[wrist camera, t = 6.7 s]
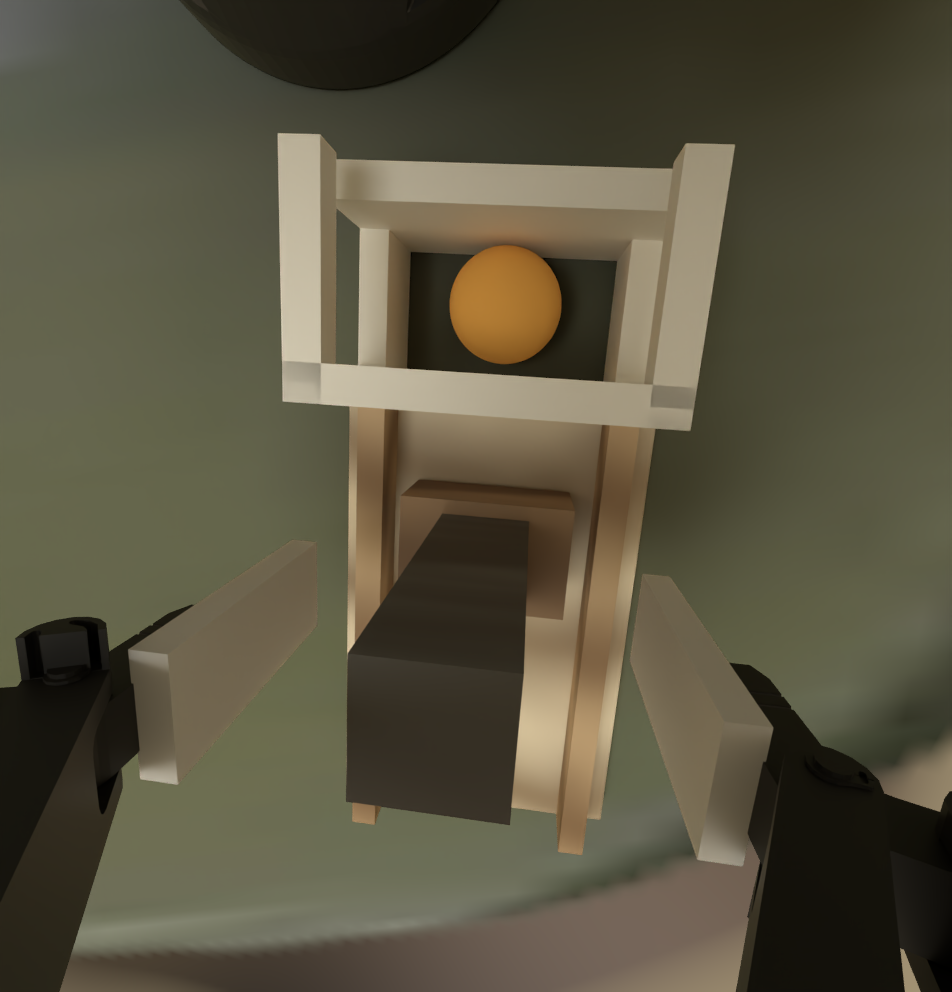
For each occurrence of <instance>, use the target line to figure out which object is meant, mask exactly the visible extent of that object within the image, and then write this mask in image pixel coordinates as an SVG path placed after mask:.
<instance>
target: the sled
mask: <svg viewBox="0 0 952 992" xmlns="http://www.w3.org/2000/svg"><path fill="white" fill-rule="evenodd" d="M574 516H575V509H574V506H573V503H572V500H571V496H570V493H569V492H561V491H549V490H538V489H526V488H514V487H502V486H490V485H479V484H467V483H455V482H443V481H432V480H420V479H419V480H418V481H417V482H415V483H414V484H413V485H412V486H411V487H410V488H409V489H407V490H406V491H405V492H404V493H403V494H402V495H401V496H400V524H399V555H398V580H397V581H396V583H395V584H394V586H393V587H392V589H391V590H390V592H389V593H388V595H387V596H386V597H385V599H384V600H383V602H382V603H381V605H380V606H379V608H378V609H377V611H376V612H375V614H374V615H373V617H372V618H371V620H370V621H369V623H368V624H367V626H366V627H365V629H364V630H363V631H362V633H361V634H360V636H359V637H358V639H357V640H356V642H355V643H354V645H353V646H352V648H351V649H350V651H349V652H348V659H347V768H346V802H352V803H359V804H366V805H373V806H380V807H387V808H394V809H401V810H408V811H415V812H422V813H429V814H436V815H443V816H450V817H457V818H464V819H471V820H478V821H485V822H492V823H499V824H506V825H510V816H511V806H512V795H513V784H514V774H515V763H516V753H517V742H518V732H519V721H520V710H521V700H522V689H523V679H524V657H525V628H526V616H528V617H538V618H547V619H556V620H563V615H564V606H565V597H566V588H567V579H568V570H569V561H570V552H571V543H572V534H573V525H574Z"/></svg>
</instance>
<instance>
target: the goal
mask: <svg viewBox="0 0 952 992" xmlns="http://www.w3.org/2000/svg"><path fill="white" fill-rule="evenodd" d="M734 148H735V144H695V143H686V144H685V146H684V147H683V149H682V150H681V152H680V153H679V155H678V156H677V158H676V160H675V161H674V164H673V169H659V168H624V167H590V166H555V165H520V164H486V163H451V162H417V161H382V160H347V159H336V152H335V151H334V149H333V148H332V147H331V146H330V145H329V144H328V143H327V142H326V140H325V139H324V138H323V137H322V136H321V135H320V134H287V133H278V179H279V230H280V282H281V333H282V384H283V401H284V402H298V403H312V404H325V405H339V406H353V407H366V408H380V409H394V410H408V411H421V412H435V413H449V414H462V415H476V416H490V417H504V418H517V419H531V420H545V421H559V422H572V423H586V424H600V425H613V426H627V427H641V428H655V429H668V430H682V431H690V430H691V423H692V417H693V410H694V404H695V398H696V391H697V385H698V378H699V372H700V366H701V359H702V353H703V347H704V340H705V334H706V327H707V321H708V315H709V308H710V302H711V295H712V289H713V283H714V276H715V270H716V263H717V257H718V251H719V244H720V238H721V232H722V225H723V219H724V212H725V206H726V200H727V193H728V187H729V180H730V174H731V168H732V161H733V155H734ZM336 208H337V209H338V210H339V211H340V212H341V213H343V214H344V215H345V216H346V217H347V218H348V219H350V220H351V221H352V222H353V223H354V224H355V225H357V226H358V227H359V228H360V261H359V341H358V366H357V365H341V364H336ZM500 245H513V246H519V247H523V248H526V249H528V250H530V251H532V252H534V253H535V254H537V255H538V256H539V257H541V258H557V259H579V260H602V261H617V267H616V276H615V284H614V293H613V301H612V310H611V319H610V327H609V336H608V344H607V353H606V362H605V370H604V379H603V382H601V381H586V380H570V379H555V378H540V377H525V376H509V375H494V374H479V373H463V372H448V371H433V370H418V369H407V351H408V321H409V291H410V261H411V252H423V253H446V254H468V255H476V254H478V253H480V252H481V251H483V250H485V249H488V248H491V247H494V246H500Z"/></svg>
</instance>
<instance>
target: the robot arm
mask: <svg viewBox="0 0 952 992" xmlns="http://www.w3.org/2000/svg"><path fill="white" fill-rule="evenodd" d="M497 1H498V0H180V2H181V3H182V4H183V5H184V6H185V7H186V8H187V9H188V10H189V11H190V12H191V13H192V14H193V15H194V17H195V18H196V19H197V20H198V21H199V22H200V23H201V24H202V25H203V26H204V27H205V28H206V29H207V30H208V31H209V32H210V33H211V34H212V35H213V36H214V37H215V38H216V39H217V40H218V41H219V42H220V43H222V44H223V45H224V46H225V47H226V48H227V49H229V50H230V51H231V52H233V53H234V54H235V55H237V56H238V57H240V58H241V59H243V60H244V61H246V62H247V63H249V64H250V65H252V66H254V67H256V68H258V69H260V70H261V71H263V72H265V73H268V74H270V75H272V76H275V77H277V78H280V79H283V80H286V81H289V82H292V83H295V84H300V85H304V86H309V87H315V88H324V89H353V88H362V87H368V86H373V85H378V84H382V83H385V82H388V81H392V80H395V79H397V78H400V77H403V76H405V75H408V74H410V73H412V72H414V71H416V70H418V69H420V68H422V67H424V66H426V65H427V64H429V63H431V62H432V61H434V60H436V59H437V58H439V57H440V56H442V55H443V54H444V53H446V52H447V51H449V50H450V49H451V48H452V47H454V46H455V45H456V44H457V43H459V42H460V41H461V40H462V39H463V38H464V37H465V36H466V35H468V34H469V33H470V32H471V31H472V30H473V29H474V28H475V27H476V26H477V25H478V24H479V22H480V21H481V20H482V19H483V18H484V17H485V16H486V15H487V14H488V12H489V11H490V10H491V9H492V7H493V6H494V5H495V4H496V2H497ZM316 626H317V542H312V541H302V540H291V541H290V542H288V543H287V544H285V545H284V546H282V547H281V548H279V549H278V550H276V551H275V552H273V553H272V554H270V555H269V556H267V557H266V558H264V559H263V560H261V561H260V562H258V563H257V564H255V565H254V566H252V567H251V568H249V569H248V570H246V571H245V572H243V573H242V574H240V575H239V576H237V577H236V578H234V579H233V580H231V581H230V582H228V583H227V584H225V585H224V586H222V587H221V588H219V589H218V590H216V591H215V592H213V593H212V594H210V595H209V596H207V597H206V598H204V599H203V600H201V601H200V602H198V603H197V604H195V605H189V606H187V607H184V608H181V609H179V610H176V611H173V612H171V613H169V614H167V615H165V616H164V617H162V618H161V619H159V620H158V621H156V622H155V623H153V626H148V627H147V628H145V629H144V630H142V631H141V632H140V634H139V635H138V634H136V635H134V636H133V637H131V638H130V639H128V640H127V641H125V642H124V643H122V644H120V645H119V646H117V647H116V648H114V649H113V650H111V651H110V652H109V646H108V637H107V627H106V623H105V622H104V621H102V620H101V619H98V618H92V617H72V618H66V619H59V620H54V621H51V622H47V623H44V624H40V625H38V626H35V627H33V628H31V629H29V630H26V631H24V632H23V633H22V634H20V635H19V636H18V637H17V638H15V639H16V646H17V653H18V659H19V666H20V673H21V679H22V681H21V682H20V684H19V685H18V686H17V687H6V688H0V992H59V991H60V988H61V985H62V981H63V978H64V975H65V972H66V969H67V965H68V962H69V959H70V956H71V953H72V949H73V946H74V943H75V940H76V937H77V933H78V930H79V927H80V924H81V920H82V917H83V914H84V911H85V908H86V904H87V901H88V898H89V895H90V891H91V888H92V885H93V882H94V879H95V875H96V872H97V869H98V866H99V862H100V859H101V856H102V853H103V850H104V846H105V843H106V840H107V837H108V833H109V830H110V827H111V824H112V821H113V817H114V814H115V811H116V808H117V804H118V801H119V798H120V795H121V792H122V788H123V782H122V770H121V768H122V767H123V766H124V765H125V764H126V763H127V762H128V761H129V760H130V759H132V758H133V757H134V756H135V755H136V754H137V753H138V759H139V770H140V779H143V780H150V781H157V782H163V783H170V784H177V785H178V784H179V783H180V781H181V780H182V779H183V778H184V777H185V776H186V775H187V773H188V772H189V771H190V770H191V769H192V768H193V767H194V765H195V764H196V763H197V762H198V761H199V760H200V759H201V758H202V756H203V755H204V754H205V753H206V752H207V751H208V750H209V748H210V747H211V746H212V745H213V744H214V743H215V742H216V740H217V739H218V738H219V737H220V736H221V735H222V734H223V732H224V731H225V730H226V729H227V728H228V727H229V726H230V724H231V723H232V722H233V721H234V720H235V719H236V718H237V716H238V715H239V714H240V713H241V712H242V711H243V710H244V708H245V707H246V706H247V705H248V704H249V703H250V702H251V700H252V699H253V698H254V697H255V696H256V695H257V694H258V692H259V691H260V690H261V689H262V688H263V687H264V686H265V684H266V683H267V682H268V681H269V680H270V679H271V678H272V676H273V675H274V674H275V673H276V672H277V671H278V670H279V668H280V667H281V666H282V665H283V664H284V663H285V662H286V660H287V659H288V658H289V657H290V656H291V655H292V654H293V652H294V651H295V650H296V649H297V648H298V647H299V646H300V645H301V643H302V642H303V641H304V640H305V639H306V638H307V637H308V635H309V634H310V633H311V632H312V631H313V630H314V629H315V627H316ZM630 663H631V666H632V669H633V672H634V675H635V678H636V681H637V683H638V686H639V689H640V692H641V695H642V698H643V701H644V704H645V707H646V710H647V713H648V716H649V719H650V722H651V725H652V728H653V731H654V734H655V737H656V739H657V742H658V745H659V748H660V751H661V754H662V757H663V760H664V763H665V766H666V769H667V772H668V775H669V778H670V781H671V784H672V787H673V790H674V793H675V795H676V798H677V801H678V804H679V807H680V810H681V813H682V816H683V819H684V822H685V825H686V828H687V831H688V834H689V837H690V840H691V843H692V846H693V849H694V851H695V854H696V857H697V860H702V861H709V862H716V863H723V864H730V865H737V866H743V863H744V859H745V854H746V850H747V845H748V841H749V838H750V840H751V842H752V844H753V847H754V849H755V851H756V853H757V855H758V857H759V859H760V864H759V869H758V873H757V877H756V882H755V886H754V890H753V895H752V899H751V904H750V908H749V912H748V916H747V917H748V918H749V921H748V927H747V933H746V938H745V943H744V949H743V955H742V960H741V966H740V971H739V977H738V983H737V988H736V992H905V990H904V980H903V971H902V962H901V952H900V948H901V949H904V951H905V953H906V956H907V958H908V961H909V963H910V966H911V968H912V971H913V973H914V976H915V978H916V981H917V983H918V986H919V988H920V991H921V992H952V791H950V792H949V793H948V795H947V796H946V797H945V799H944V802H943V805H942V808H941V812H938V811H935V810H932V809H929V808H926V807H922V806H919V805H916V804H913V803H910V802H907V801H904V800H901V799H898V798H895V797H892V796H889V795H887V794H884V791H883V789H882V787H881V785H880V782H879V780H878V779H877V778H876V777H875V776H874V775H873V774H872V773H871V772H870V771H869V770H868V769H867V768H866V767H864V766H863V765H861V764H860V763H859V762H857V761H856V760H854V759H853V758H851V757H849V756H847V755H845V754H843V753H840V752H838V751H836V750H834V749H831V748H828V747H824V746H821V744H820V743H819V742H818V740H817V739H816V738H815V737H814V735H813V734H812V733H811V731H810V730H809V729H808V728H807V726H806V725H805V724H804V723H803V721H802V720H801V719H800V717H799V716H798V715H797V714H796V712H795V711H794V710H791V706H790V705H789V703H788V702H787V701H786V700H785V698H784V697H781V693H780V692H779V691H778V689H777V688H776V687H775V685H774V684H773V683H772V682H771V680H770V679H769V678H767V677H766V676H764V675H763V674H762V673H760V672H759V671H757V670H756V669H755V668H753V667H752V666H750V665H743V664H734V663H729V662H728V661H727V659H726V658H725V656H724V655H723V653H722V652H721V650H720V649H719V648H718V646H717V645H716V643H715V642H714V640H713V639H712V637H711V636H710V634H709V633H708V631H707V630H706V629H705V627H704V626H703V624H702V623H701V621H700V620H699V618H698V617H697V615H696V614H695V612H694V611H693V610H692V608H691V607H690V605H689V604H688V602H687V601H686V599H685V598H684V596H683V595H682V594H681V592H680V591H679V589H678V588H677V586H676V585H675V583H674V582H673V580H672V579H671V577H670V576H660V575H650V574H642V579H641V586H640V593H639V600H638V607H637V614H636V621H635V628H634V635H633V642H632V649H631V655H630Z"/></svg>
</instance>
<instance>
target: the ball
mask: <svg viewBox="0 0 952 992" xmlns="http://www.w3.org/2000/svg"><path fill="white" fill-rule="evenodd" d="M561 301H562V299H561V292H560V288H559V284H558V281H557V279H556V276H555V275H554V273H553V271H552V270H551V268H550V267H549V266H548V264H547V263H546V262H545V261H544V260H543V259H542V258H541V257H539V256H538V255H537V254H535V253H534V252H532V251H530V250H528V249H526V248H523V247H519V246H513V245H500V246H494V247H491V248H488V249H485V250H483V251H481V252H480V253H478V254H476V255H475V256H473V257H472V258H471V259H470V260H469V261H468V262H467V263H466V264H465V265H464V266H463V268H462V269H461V270H460V272H459V273H458V275H457V277H456V279H455V281H454V284H453V287H452V290H451V296H450V316H451V321H452V325H453V327H454V330H455V332H456V334H457V336H458V338H459V339H460V341H461V342H462V343H463V345H464V346H465V347H466V348H467V349H468V350H469V351H470V352H472V353H473V354H474V355H476V356H477V357H479V358H481V359H483V360H485V361H488V362H492V363H497V364H512V363H517V362H521V361H524V360H526V359H528V358H530V357H532V356H534V355H535V354H536V353H538V352H539V351H540V350H541V349H542V348H544V347H545V345H546V344H547V343H548V342H549V341H550V339H551V338H552V336H553V334H554V333H555V330H556V328H557V326H558V323H559V319H560V315H561Z"/></svg>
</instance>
